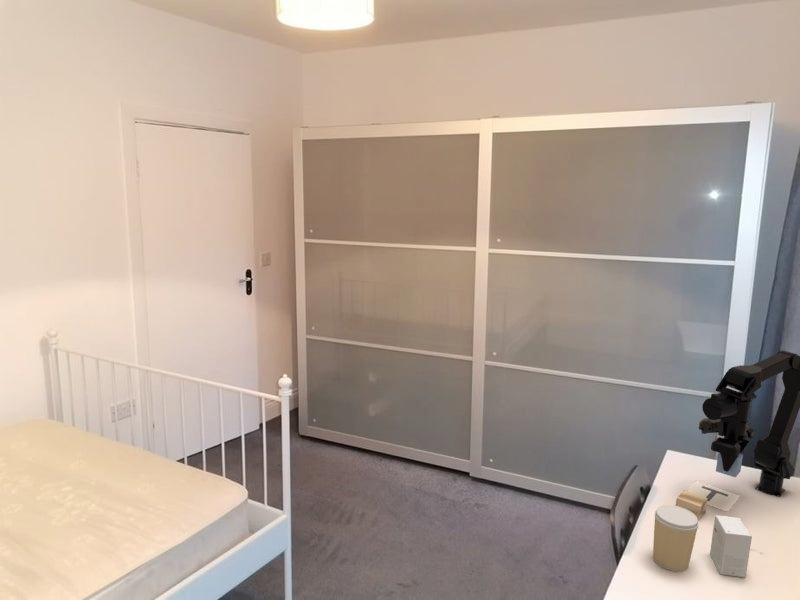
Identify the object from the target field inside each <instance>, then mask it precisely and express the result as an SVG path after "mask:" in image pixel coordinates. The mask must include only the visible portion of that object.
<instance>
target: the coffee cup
mask: <svg viewBox="0 0 800 600" xmlns="http://www.w3.org/2000/svg"><path fill="white" fill-rule="evenodd" d="M699 522H700V521H698V519H697V517H696V516H695V515H694V514H693V513H692V512H690V511H689V510H687V509H684V508H682V507H678V506H676V505H672V504H663V505H661V506H658V507H657V508H656V510H655V511H654V526H653V527H654V529H653V547H652V548H653V549H652V558H653V561H654V562H655V563H656V564H657V565H658V566H659V567H661V568H663V569H665V570H668V571H672V572H684V570H685V571H687V570H688V569H689V566H690V563H691V558H692V553H693V548H694V544H695V540H696V535H697V532H698V528H699Z"/></svg>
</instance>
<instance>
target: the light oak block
mask: <svg viewBox="0 0 800 600" xmlns="http://www.w3.org/2000/svg"><path fill="white" fill-rule="evenodd" d="M686 490H687V489H686ZM686 490H685V489H684V490H683V491H682V492H681V493H680V494H679V495H677V497H676V498H675V499H676V500H675V506H678V507H682V508H684V509H687V510H689V511H690V512H692V513H693V514H694V515H695V516H696V517H697V519H698V522H700V521H701V519H702V518H703V516H705V514H706V510H707V506H708V505H707V499H708V498H705V497H703V496H700V495H697V494H694V493H691V492H688V491H686Z"/></svg>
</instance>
